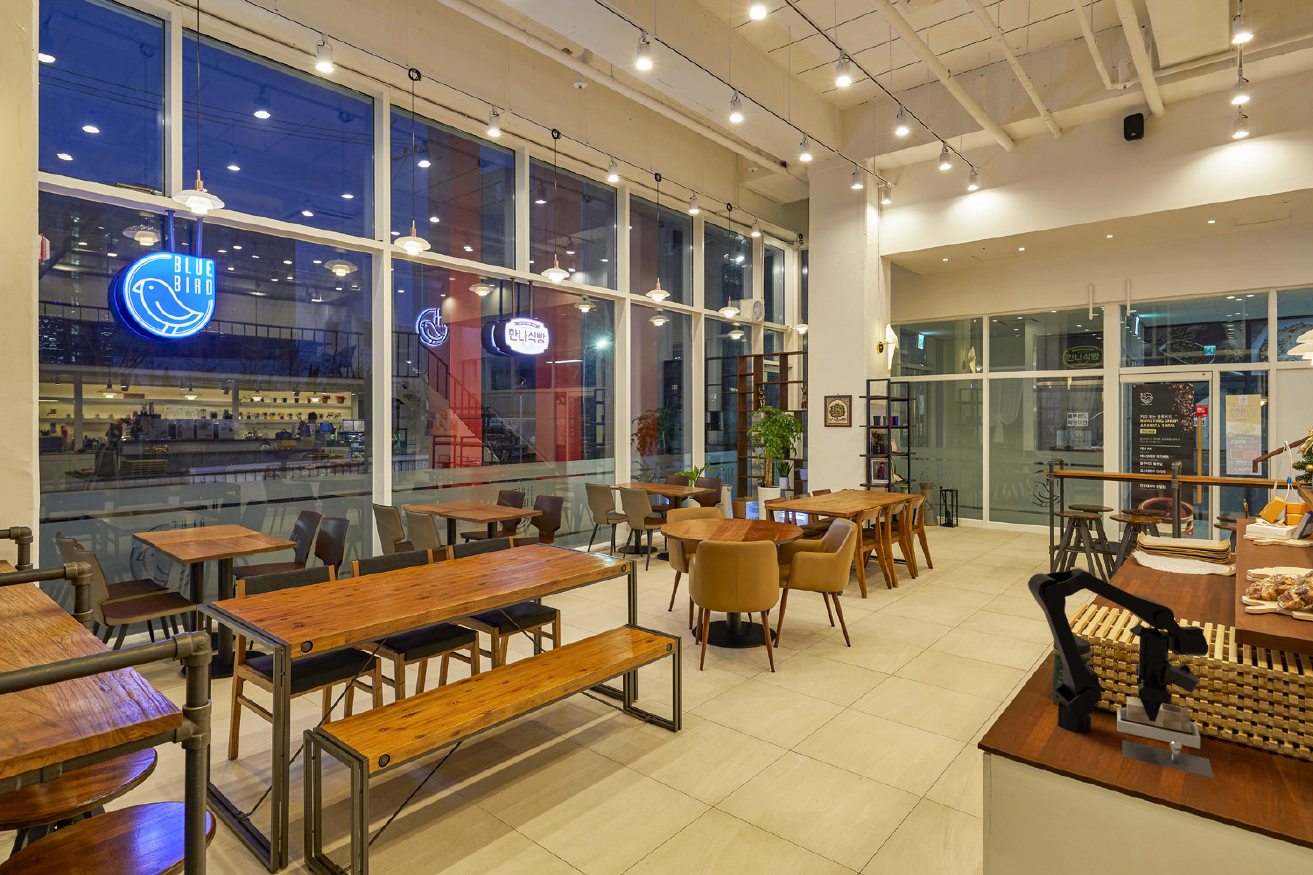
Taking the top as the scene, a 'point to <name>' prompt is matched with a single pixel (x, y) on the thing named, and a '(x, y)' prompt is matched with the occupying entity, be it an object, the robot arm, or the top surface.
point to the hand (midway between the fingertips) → (1151, 716)
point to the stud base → (1168, 757)
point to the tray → (1157, 731)
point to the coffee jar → (1058, 664)
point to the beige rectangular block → (1160, 715)
